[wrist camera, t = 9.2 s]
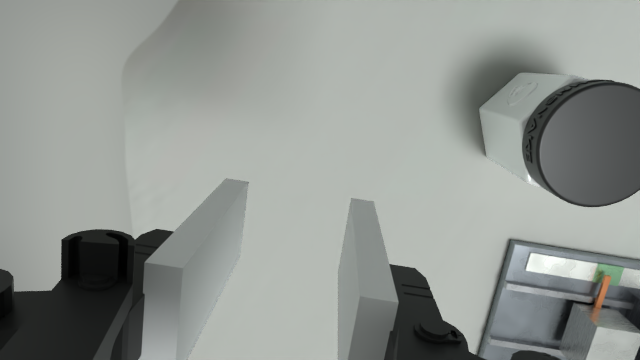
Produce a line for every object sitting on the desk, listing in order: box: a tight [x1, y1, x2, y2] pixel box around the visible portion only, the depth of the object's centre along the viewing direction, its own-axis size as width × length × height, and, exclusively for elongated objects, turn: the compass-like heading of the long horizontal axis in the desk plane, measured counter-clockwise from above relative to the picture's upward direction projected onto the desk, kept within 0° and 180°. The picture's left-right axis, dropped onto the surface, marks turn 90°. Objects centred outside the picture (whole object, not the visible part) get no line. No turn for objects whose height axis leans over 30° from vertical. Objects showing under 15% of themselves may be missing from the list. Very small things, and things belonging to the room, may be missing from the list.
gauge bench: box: [478, 240, 640, 360], centre depth 41 cm, size 14×14×7 cm
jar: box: [479, 73, 640, 207], centre depth 34 cm, size 9×8×12 cm
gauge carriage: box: [559, 275, 640, 360], centre depth 41 cm, size 8×4×4 cm, turn 171°
